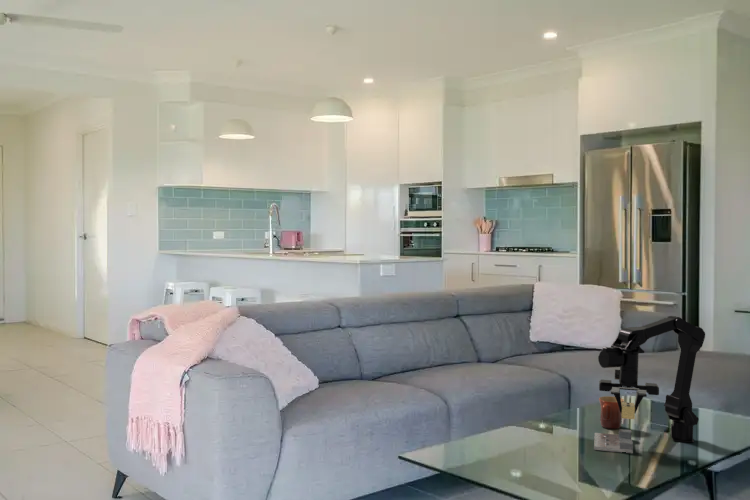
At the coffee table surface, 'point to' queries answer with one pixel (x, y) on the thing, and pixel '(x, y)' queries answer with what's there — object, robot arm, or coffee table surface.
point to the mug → (610, 412)
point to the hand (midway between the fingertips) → (627, 412)
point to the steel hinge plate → (614, 442)
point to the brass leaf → (628, 410)
